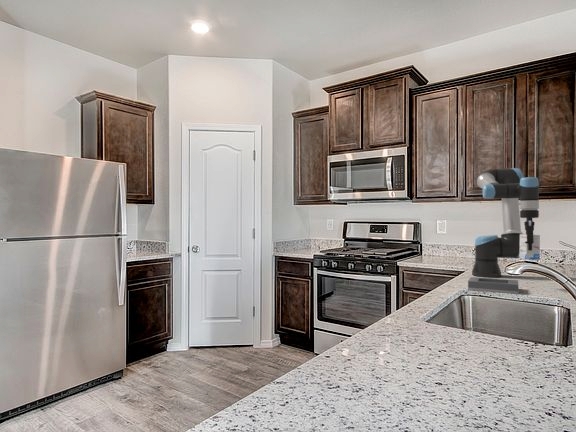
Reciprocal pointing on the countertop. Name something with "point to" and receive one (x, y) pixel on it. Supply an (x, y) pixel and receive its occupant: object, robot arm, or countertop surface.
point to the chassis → (493, 285)
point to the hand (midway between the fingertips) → (529, 256)
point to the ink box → (535, 247)
